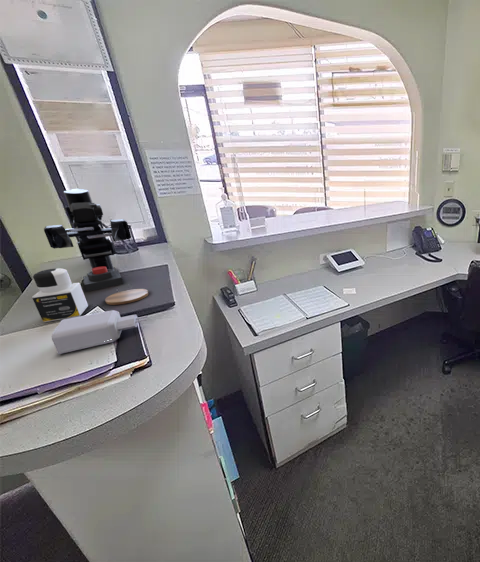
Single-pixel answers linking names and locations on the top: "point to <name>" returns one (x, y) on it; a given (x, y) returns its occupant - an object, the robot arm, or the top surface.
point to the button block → (102, 280)
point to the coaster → (126, 296)
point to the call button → (99, 270)
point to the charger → (91, 330)
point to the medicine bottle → (58, 295)
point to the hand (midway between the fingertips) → (93, 242)
